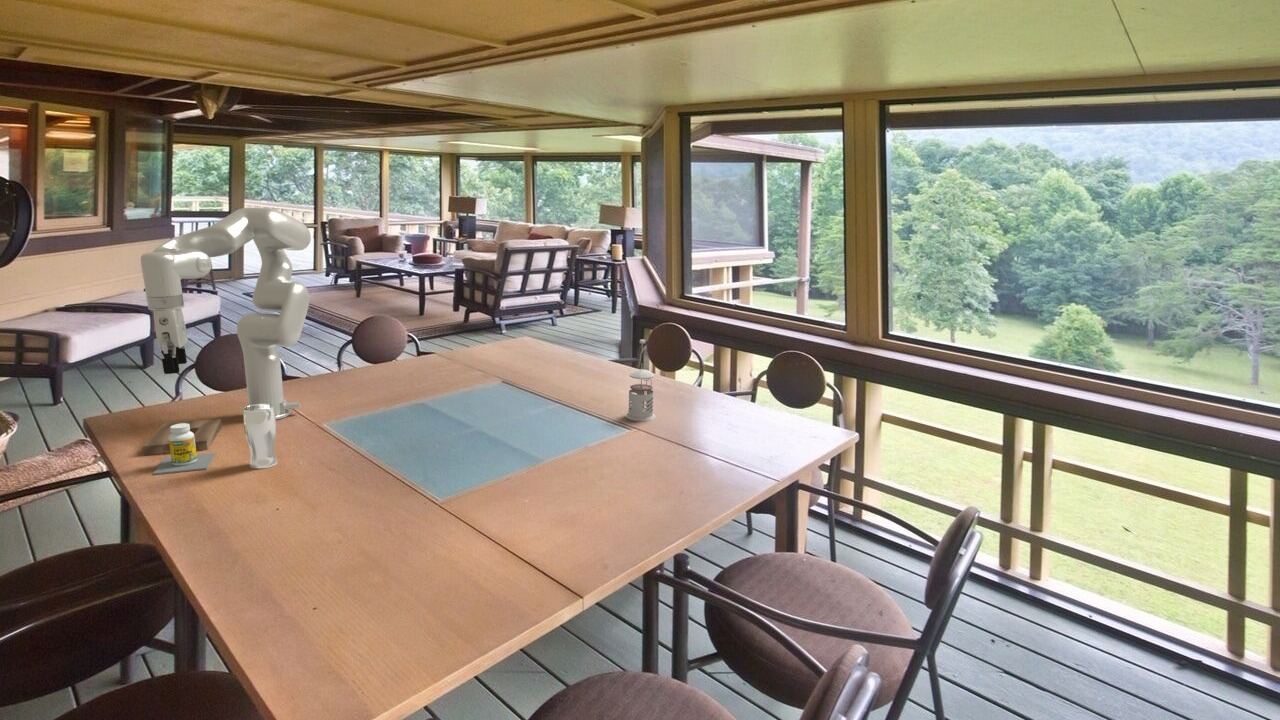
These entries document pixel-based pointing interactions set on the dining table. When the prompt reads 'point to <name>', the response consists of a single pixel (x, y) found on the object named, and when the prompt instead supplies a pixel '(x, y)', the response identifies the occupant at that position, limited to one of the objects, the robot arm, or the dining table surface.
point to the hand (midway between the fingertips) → (175, 368)
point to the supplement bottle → (182, 445)
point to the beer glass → (260, 434)
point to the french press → (641, 396)
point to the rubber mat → (200, 464)
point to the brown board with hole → (200, 429)
